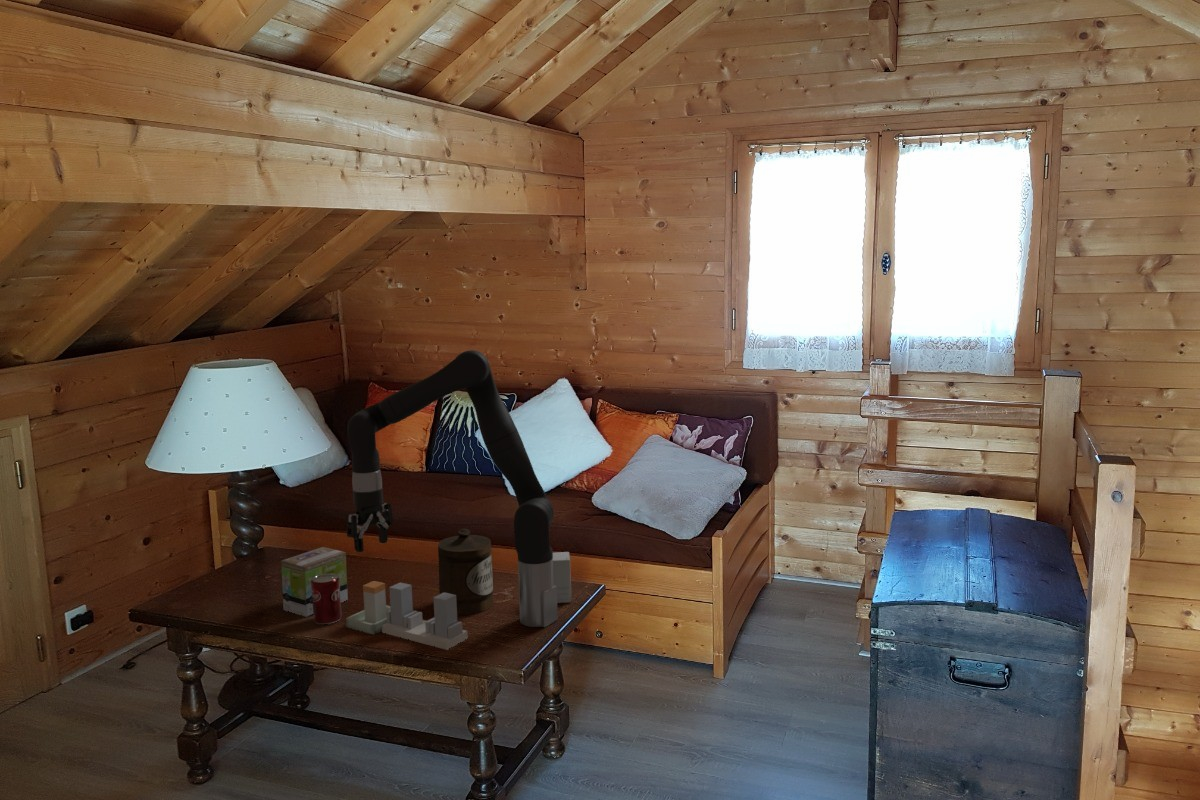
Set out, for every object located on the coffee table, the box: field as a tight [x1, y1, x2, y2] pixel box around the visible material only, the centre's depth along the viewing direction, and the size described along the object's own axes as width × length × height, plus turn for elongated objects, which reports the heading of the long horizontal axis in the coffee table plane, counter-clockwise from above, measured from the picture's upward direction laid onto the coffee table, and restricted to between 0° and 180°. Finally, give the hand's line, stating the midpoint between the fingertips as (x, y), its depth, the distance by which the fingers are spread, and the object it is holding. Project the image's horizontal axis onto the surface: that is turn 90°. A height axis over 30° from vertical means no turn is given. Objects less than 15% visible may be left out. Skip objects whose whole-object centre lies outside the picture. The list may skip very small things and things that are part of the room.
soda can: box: [311, 574, 343, 625], centre depth 251 cm, size 7×7×12 cm
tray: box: [345, 604, 391, 635], centre depth 249 cm, size 10×12×2 cm
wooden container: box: [437, 528, 494, 615], centre depth 259 cm, size 15×15×22 cm
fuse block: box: [381, 582, 469, 651], centre depth 239 cm, size 22×8×12 cm, turn 59°
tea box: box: [280, 546, 349, 618], centre depth 261 cm, size 15×10×15 cm, turn 147°
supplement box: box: [553, 551, 572, 604], centre depth 263 cm, size 7×7×13 cm
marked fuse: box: [362, 580, 387, 623], centre depth 248 cm, size 4×4×10 cm
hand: (371, 547), depth 246 cm, fingers open, 8 cm apart
